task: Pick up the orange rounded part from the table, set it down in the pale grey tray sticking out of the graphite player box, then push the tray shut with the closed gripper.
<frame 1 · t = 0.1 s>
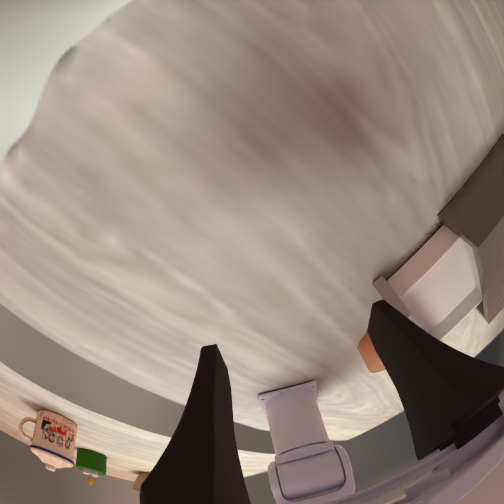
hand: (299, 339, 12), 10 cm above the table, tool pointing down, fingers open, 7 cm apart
tray: (451, 300, 25), point 3 cm above the table, slide at 8.0 cm
teacup with lid: (51, 415, 34), on the table
bowl: (147, 473, 60), on the table
candle: (92, 452, 47), on the table
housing: (484, 233, 25), on the table
orange rounded part: (375, 339, 31), on the table
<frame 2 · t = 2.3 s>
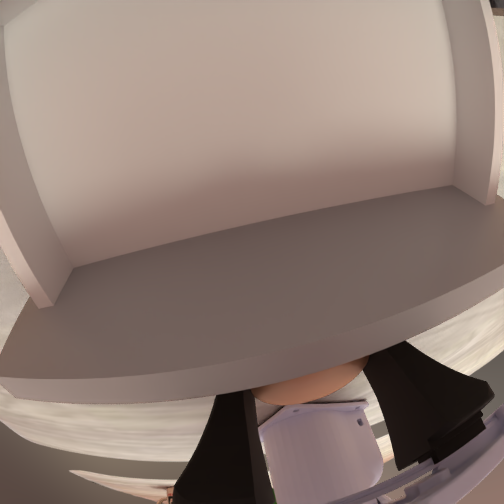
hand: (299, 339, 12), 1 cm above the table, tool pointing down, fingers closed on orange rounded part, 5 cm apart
tray: (280, 59, 5), point 3 cm above the table, slide at 8.0 cm
teacup with lid: (180, 488, 40), on the table
orange rounded part: (291, 316, 13), on the table, touching gripper
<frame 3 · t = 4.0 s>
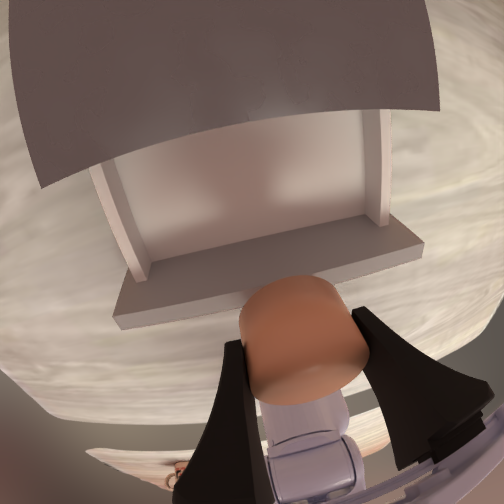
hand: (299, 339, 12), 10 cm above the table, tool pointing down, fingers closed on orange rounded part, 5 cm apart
tray: (255, 179, 14), point 3 cm above the table, slide at 8.0 cm
teacup with lid: (186, 464, 50), on the table
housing: (220, 24, 12), on the table
orange rounded part: (291, 316, 13), point 8 cm above the table, touching gripper
when the fingers open (4 cm above the table, at t = 5.9 s): orange rounded part drops 1 cm, resting on tray.
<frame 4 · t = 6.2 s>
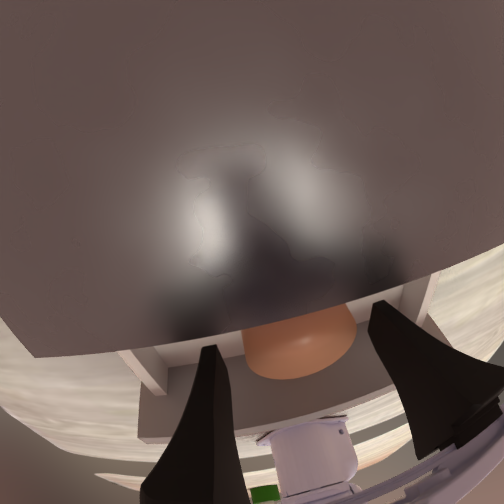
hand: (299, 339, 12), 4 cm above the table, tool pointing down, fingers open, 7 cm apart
tray: (293, 318, 12), point 3 cm above the table, slide at 8.0 cm, touching orange rounded part
candle: (263, 486, 60), on the table
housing: (247, 84, 9), on the table
orange rounded part: (284, 296, 14), point 1 cm above the table, touching tray
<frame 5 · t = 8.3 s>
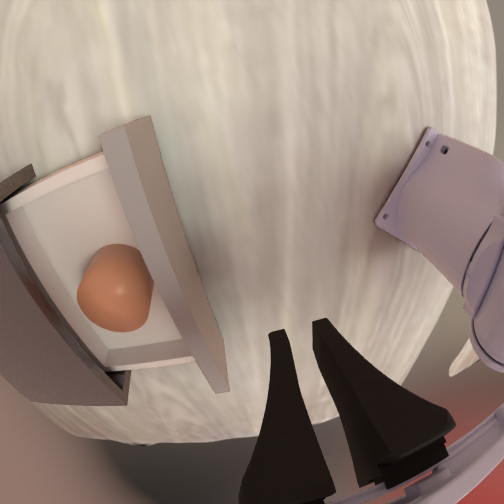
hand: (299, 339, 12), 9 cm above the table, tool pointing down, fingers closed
tray: (108, 295, 17), point 3 cm above the table, slide at 8.0 cm, touching orange rounded part
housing: (36, 290, 19), on the table
orange rounded part: (122, 273, 18), point 1 cm above the table, touching tray
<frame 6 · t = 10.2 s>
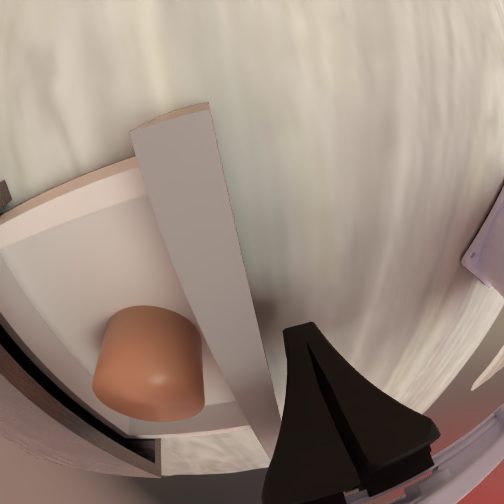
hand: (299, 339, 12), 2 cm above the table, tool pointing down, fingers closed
tray: (138, 378, 11), point 3 cm above the table, slide at 8.0 cm, touching orange rounded part, gripper
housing: (30, 345, 13), on the table
orange rounded part: (153, 340, 13), point 1 cm above the table, touching tray
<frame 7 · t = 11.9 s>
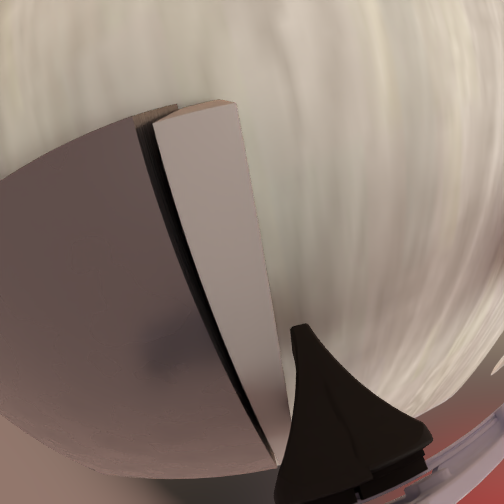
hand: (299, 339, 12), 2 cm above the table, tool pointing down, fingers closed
tray: (144, 379, 11), point 3 cm above the table, slide at -0.1 cm, touching orange rounded part, gripper
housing: (127, 335, 13), on the table
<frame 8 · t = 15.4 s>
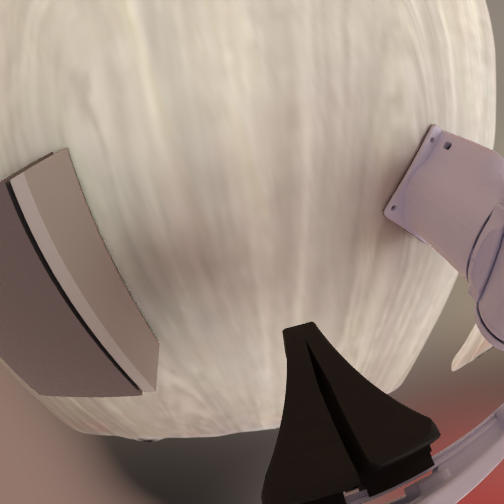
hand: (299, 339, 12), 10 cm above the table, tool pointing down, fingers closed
tray: (48, 299, 17), point 3 cm above the table, slide at 0.0 cm, touching orange rounded part
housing: (50, 280, 20), on the table
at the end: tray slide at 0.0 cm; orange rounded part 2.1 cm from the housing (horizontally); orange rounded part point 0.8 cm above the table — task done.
